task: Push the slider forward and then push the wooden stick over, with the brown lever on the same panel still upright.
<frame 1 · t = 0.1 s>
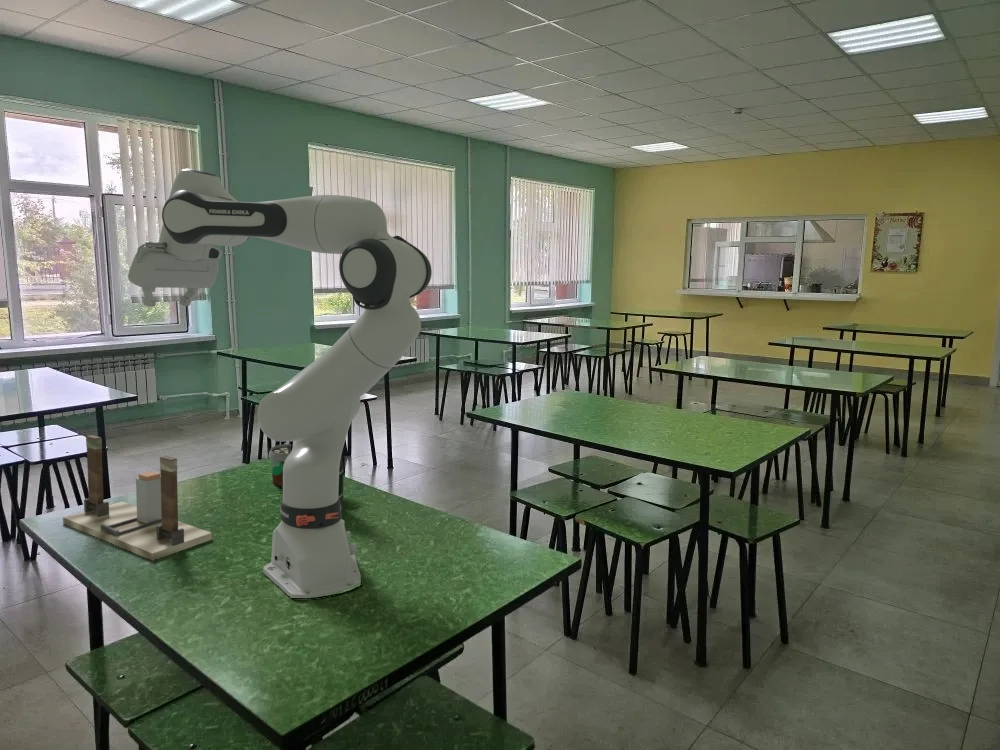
hand: (167, 305, 145), 52 cm above the table, tool tilted 20°, fingers open, 8 cm apart
beer bottle: (327, 512, 171), on the table
wooden stick: (95, 473, 157), point 11 cm above the table, hinge at 0.0°
panel: (136, 531, 152), on the table
brown lever: (169, 498, 143), point 11 cm above the table, hinge at 0.0°
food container: (279, 483, 192), on the table
slider: (150, 496, 154), point 7 cm above the table, slide at 0.0 cm
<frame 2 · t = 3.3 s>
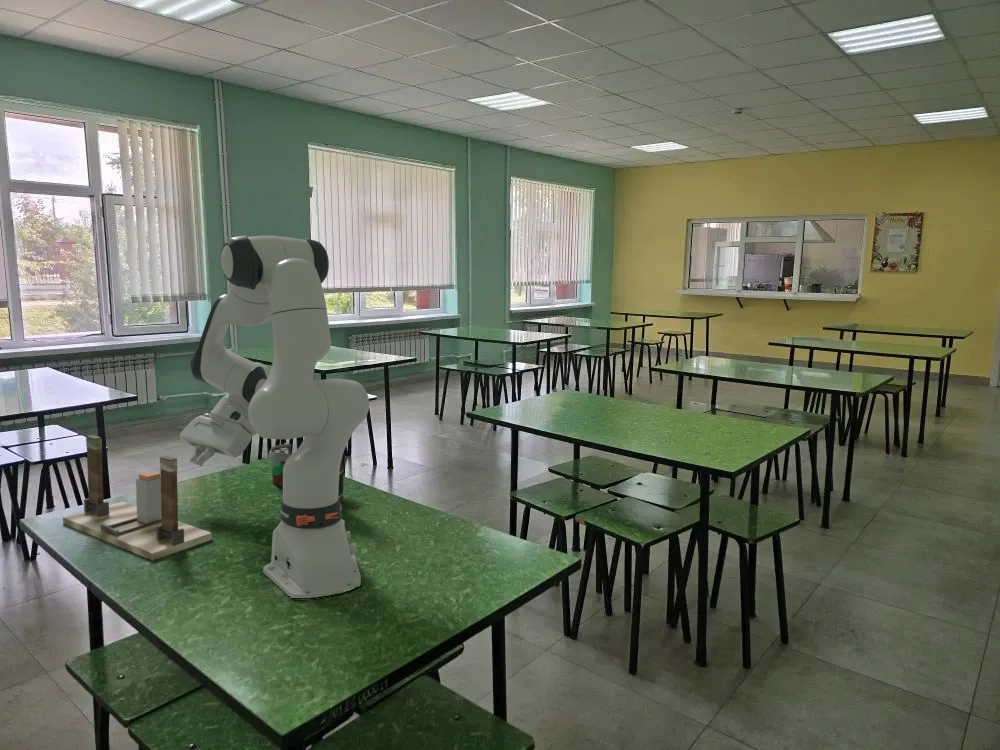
hand: (194, 463, 164), 13 cm above the table, tool tilted 45°, fingers closed
nothing on the table moved.
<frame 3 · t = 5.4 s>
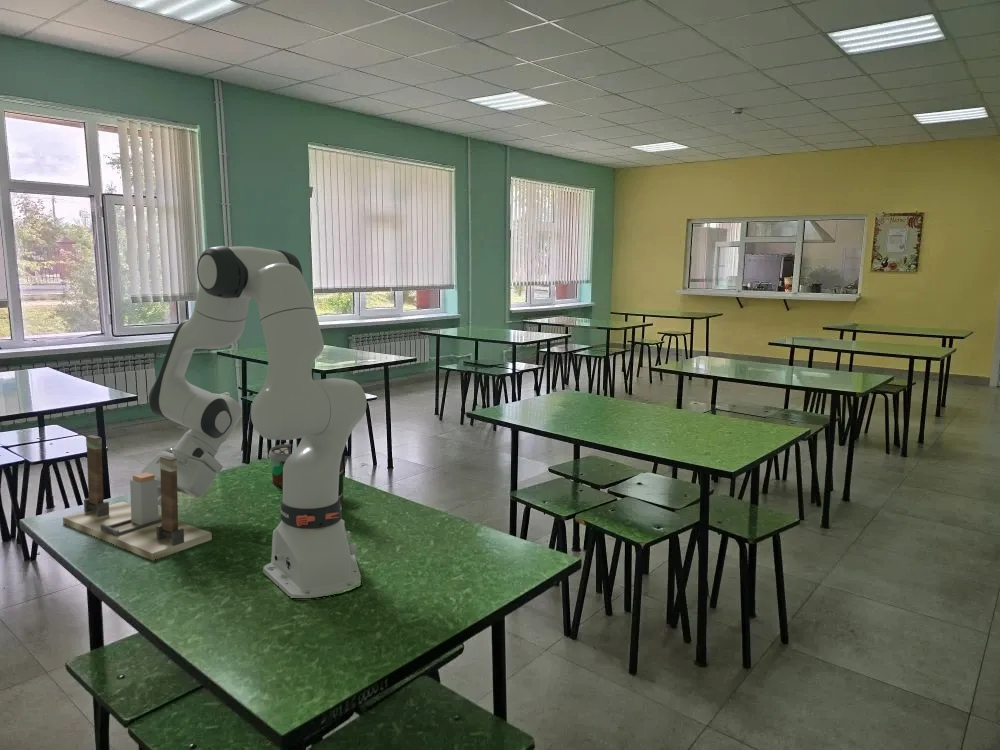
hand: (155, 503, 156), 5 cm above the table, tool tilted 45°, fingers closed, pressing on slider
slider: (144, 498, 153), point 7 cm above the table, slide at 1.4 cm, touching gripper
everything else where it was.
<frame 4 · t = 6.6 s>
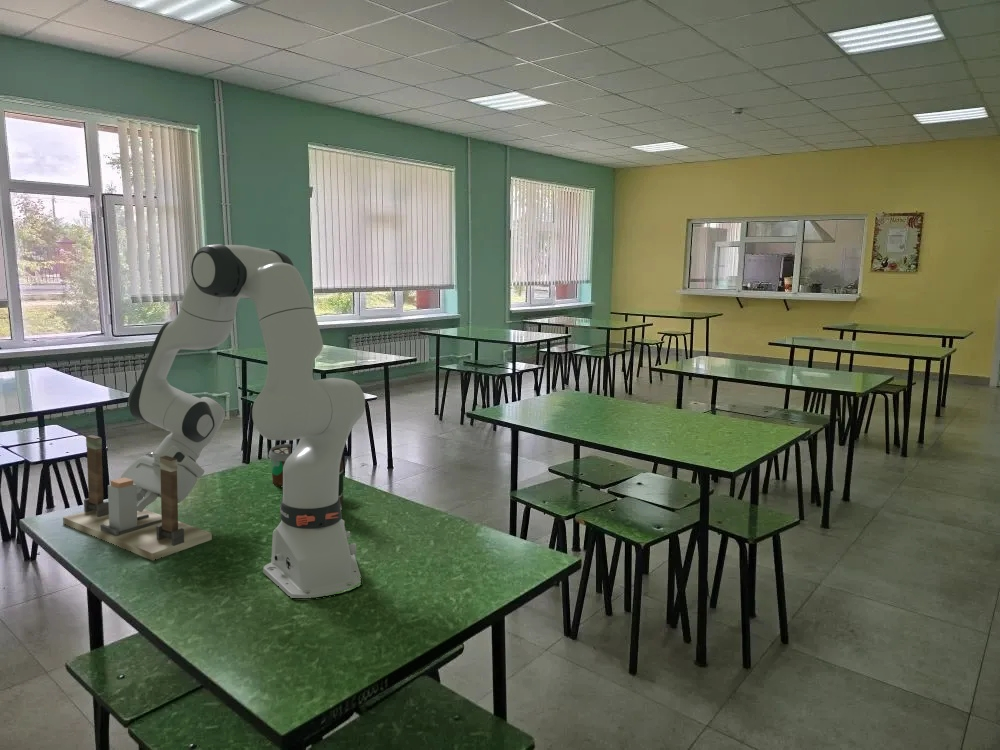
hand: (134, 509, 151), 5 cm above the table, tool tilted 45°, fingers closed, pressing on slider
slider: (122, 504, 149), point 7 cm above the table, slide at 6.4 cm, touching gripper
everything else where it was.
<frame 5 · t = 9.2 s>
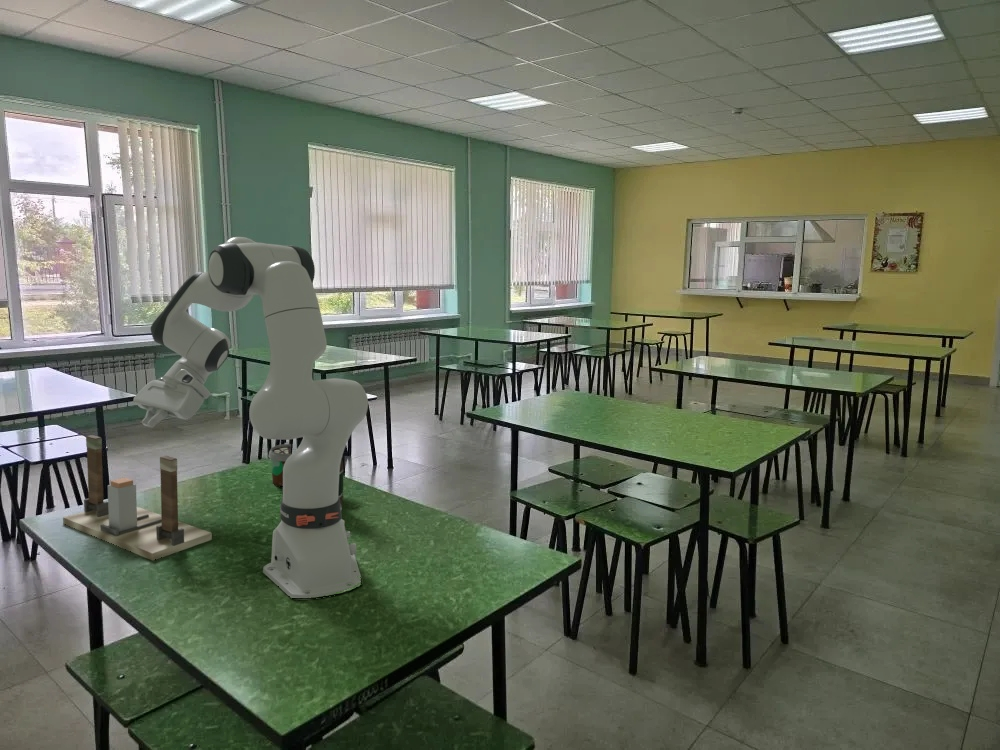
hand: (146, 425, 165), 21 cm above the table, tool tilted 45°, fingers closed
slider: (122, 504, 149), point 7 cm above the table, slide at 6.4 cm
everything else where it was.
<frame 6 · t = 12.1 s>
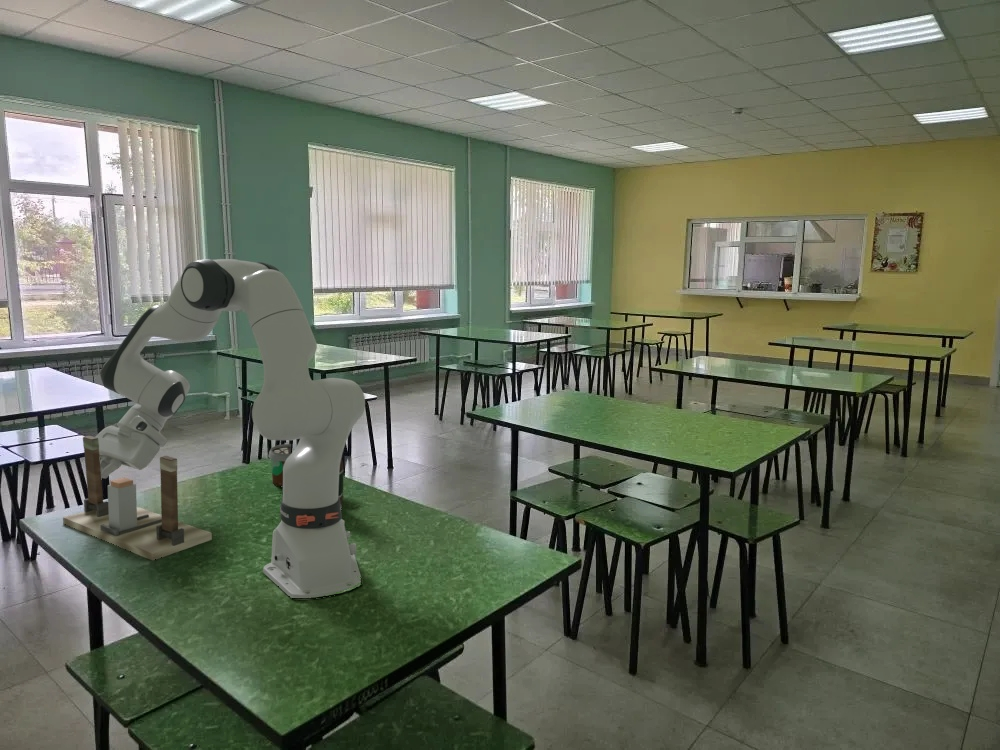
hand: (99, 476, 158), 10 cm above the table, tool tilted 45°, fingers closed, pressing on wooden stick
wooden stick: (93, 474, 156), point 11 cm above the table, hinge at 2.5°, touching gripper
everything else where it was.
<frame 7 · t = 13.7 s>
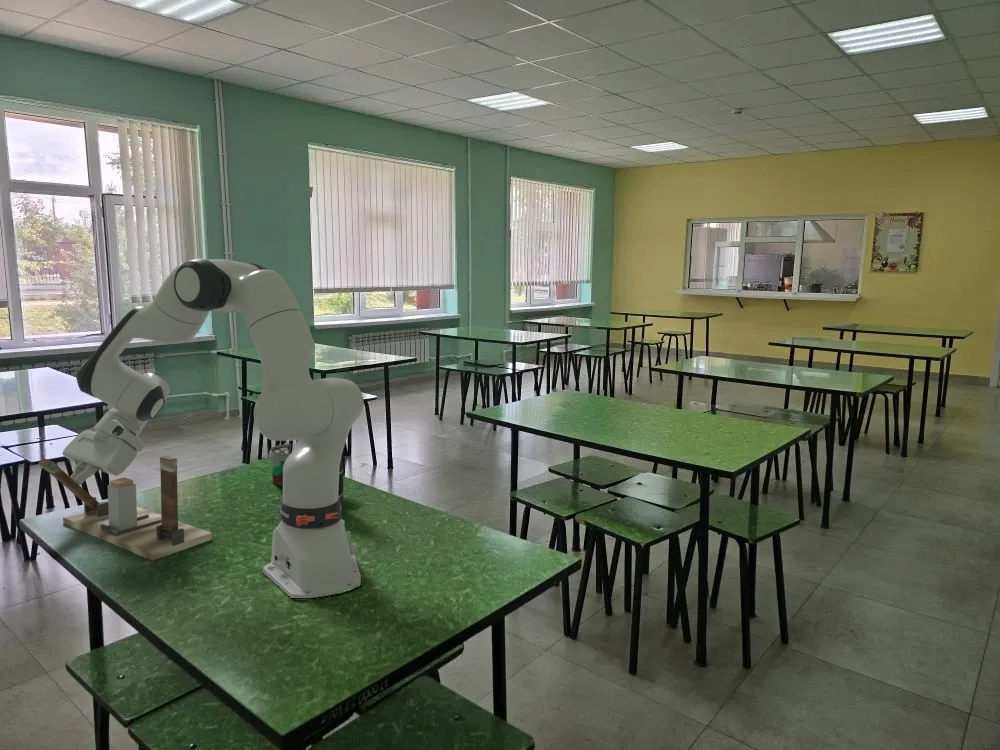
hand: (74, 482, 153), 10 cm above the table, tool tilted 45°, fingers closed, pressing on wooden stick
wooden stick: (72, 486, 152), point 9 cm above the table, hinge at 38.7°, touching gripper
everything else where it was.
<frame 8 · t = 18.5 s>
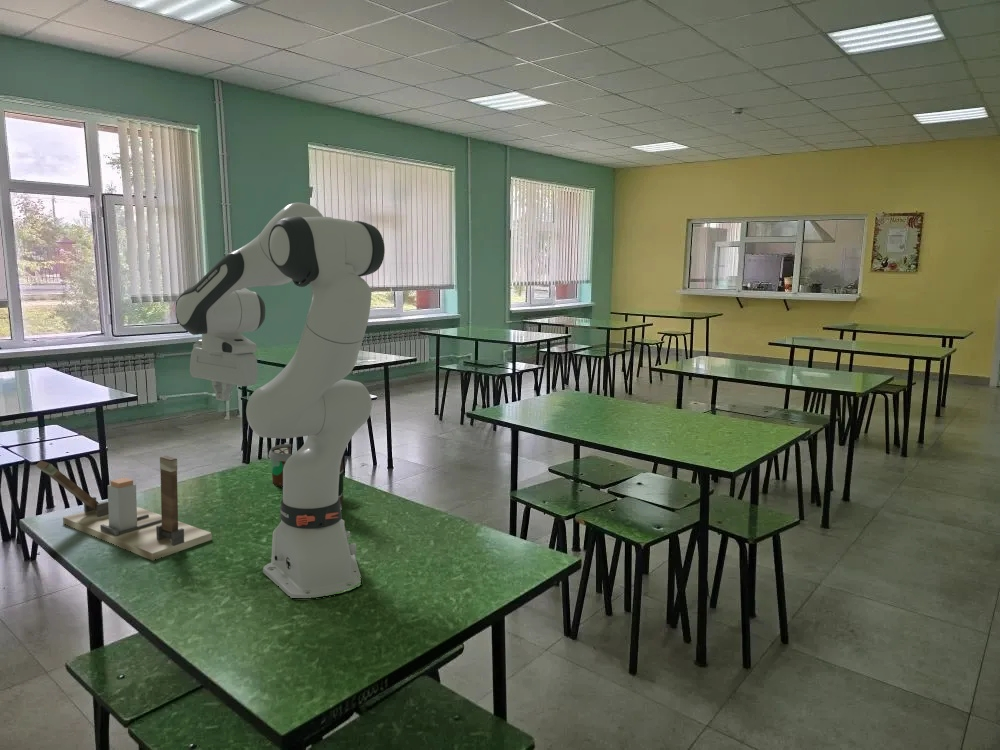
hand: (222, 400, 160), 29 cm above the table, tool pointing down, fingers closed
wooden stick: (71, 487, 152), point 9 cm above the table, hinge at 40.9°
everything else where it was.
at the end: slider slide at 6.4 cm; wooden stick at +41° (first picture: +0°); brown lever at +0° (first picture: +0°) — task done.
